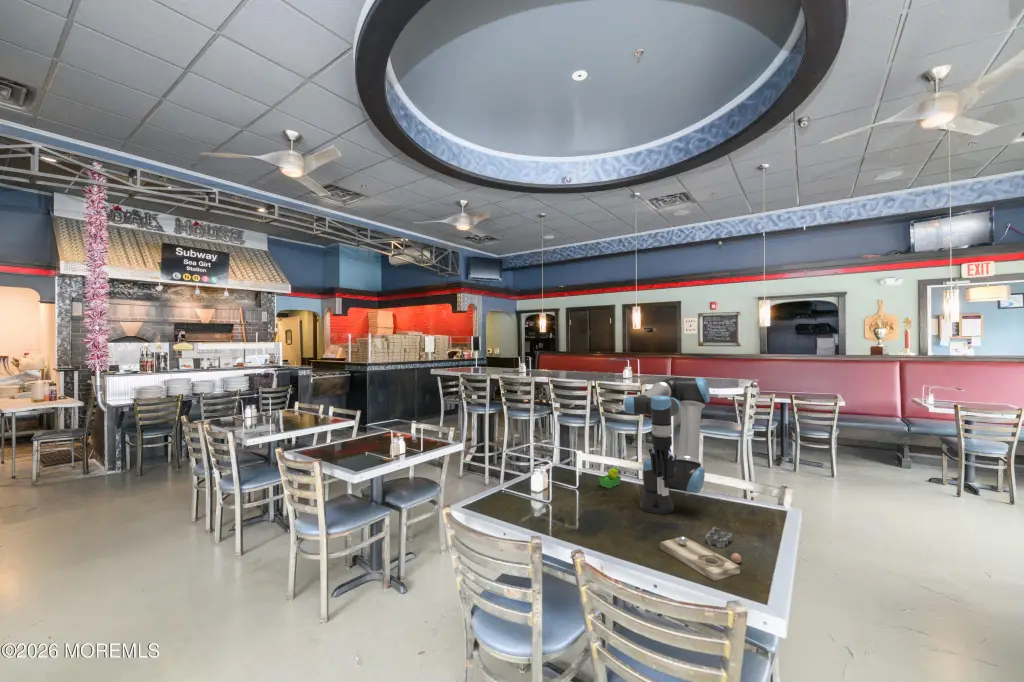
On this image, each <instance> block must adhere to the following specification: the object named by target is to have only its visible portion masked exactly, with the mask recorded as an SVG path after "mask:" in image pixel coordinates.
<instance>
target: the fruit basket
mask: <svg viewBox="0 0 1024 682" xmlns="http://www.w3.org/2000/svg"><path fill="white" fill-rule="evenodd" d="M621 478H622V477H621V476H619V470H618V467H616V466H613V467H612V468H610V469H609V470H608V472H607V474H605V475H603V476H601V477H598V480H599V483H600V486H604V487H607V488H611V487H613V486H616V485H620V482H621ZM616 487H617V486H616ZM611 489H612V488H611Z"/></svg>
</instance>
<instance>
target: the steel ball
mask: <svg viewBox="0 0 1024 682" xmlns="http://www.w3.org/2000/svg"><path fill="white" fill-rule="evenodd" d="M678 538H679V539H678V541H679V543H680V544H681V545H683V546H684V545H686V544H687V539H686V536H685V537H684V536H683V535H681V536H679V537H678Z"/></svg>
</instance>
